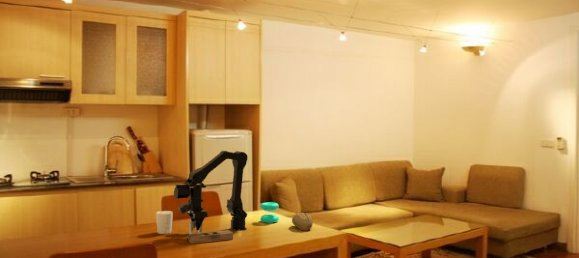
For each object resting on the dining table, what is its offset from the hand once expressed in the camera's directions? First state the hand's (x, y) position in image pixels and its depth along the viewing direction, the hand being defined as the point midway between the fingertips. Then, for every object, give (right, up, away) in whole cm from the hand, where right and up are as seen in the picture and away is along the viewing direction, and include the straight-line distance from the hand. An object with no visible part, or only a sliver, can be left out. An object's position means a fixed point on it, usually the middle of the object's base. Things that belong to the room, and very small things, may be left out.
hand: (195, 229), depth 248 cm
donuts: (+35, -2, +31) cm, 47 cm away
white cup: (-16, -3, +3) cm, 17 cm away
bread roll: (+52, -3, +16) cm, 55 cm away
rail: (+9, -3, -11) cm, 15 cm away
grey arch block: (0, -3, 0) cm, 2 cm away
